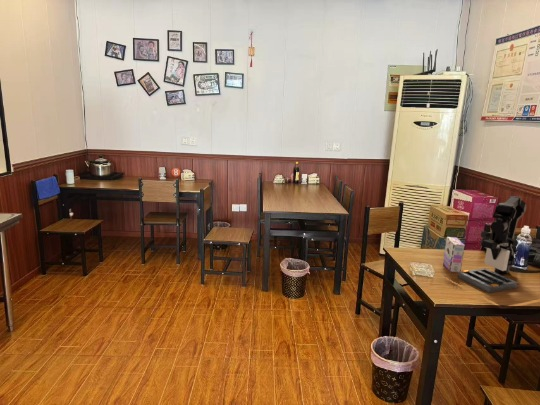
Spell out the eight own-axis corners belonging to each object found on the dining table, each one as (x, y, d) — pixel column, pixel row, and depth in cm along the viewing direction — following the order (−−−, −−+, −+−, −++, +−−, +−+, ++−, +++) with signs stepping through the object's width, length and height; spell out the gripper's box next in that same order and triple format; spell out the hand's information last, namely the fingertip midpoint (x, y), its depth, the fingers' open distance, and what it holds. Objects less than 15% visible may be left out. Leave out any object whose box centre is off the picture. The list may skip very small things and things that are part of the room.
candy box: (460, 274, 194) (465, 245, 190) (449, 273, 195) (453, 244, 191) (453, 264, 207) (457, 237, 203) (442, 263, 208) (446, 236, 204)
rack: (484, 275, 194) (485, 267, 193) (516, 289, 177) (518, 281, 176) (457, 279, 187) (458, 271, 186) (488, 295, 171) (489, 286, 170)
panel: (487, 262, 186) (491, 244, 184) (506, 270, 177) (509, 251, 175) (484, 263, 185) (487, 244, 183) (502, 270, 176) (506, 251, 174)
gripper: (500, 223, 188) (495, 252, 191) (473, 226, 181) (468, 255, 185) (521, 229, 177) (515, 259, 181) (493, 232, 171) (488, 263, 174)
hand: (496, 259), depth 180 cm, fingers closed on panel, 2 cm apart
